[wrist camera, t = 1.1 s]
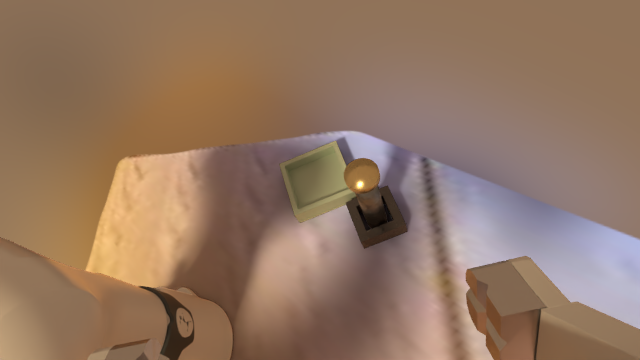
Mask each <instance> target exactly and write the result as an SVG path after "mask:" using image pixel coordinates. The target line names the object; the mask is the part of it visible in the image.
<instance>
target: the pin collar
mask: <svg viewBox="0 0 640 360" xmlns="http://www.w3.org/2000/svg"><path fill="white" fill-rule="evenodd" d="M379 191H380V194H381V198H382V201H383V204H385V205H386V207H387V209H388V211H389V214H390V216H391V218H392V220H393V221H390V222H388V223H385V224H383V225H380V226H378V227H375V228H373V229H370V230H368V231H366V229H365V227H364V224H363V222H362V219H361V217H360V214H361V213H363V212H362V209H361V207H360V204H359V202H358V199H357V198H355V199H353V200H350V201H348V202H345V203H346V205H347V208H348V210H349V213H350V215H351V218H352V221H353V223H354V226H355V228H356V231H357V233H358V236H359V239H360V241H361V243H362V245H363V247H364V249H365V248H367V247H370V246H372V245H375V244H378V243H380V242H383V241H385V240H388V239H390V238H393V237H395V236H398V235H400V234H403V233H405V232H407V228H406V223H405V221H404V219H403V217H402V215H401V213H400V211H399V209H398V207H397V204H396V202H395V200H394V198H393V196H392V194H391V192H390V190H389V188H388V185H387V186H385V187H383V188H380V189H379Z"/></svg>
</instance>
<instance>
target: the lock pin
mask: <svg viewBox="0 0 640 360" xmlns="http://www.w3.org/2000/svg"><path fill="white" fill-rule="evenodd" d="M344 180H345V183H346V185H347V187H348V188H349V189H350V190H351V191H352V192H355V194H356V197H357V199H358V202H359V204H360V207H361V209H362V212H363V214H364V217H365V219H366V221H367V224H368V226H369V227H370V228H371V229H373V228H375V227H378V226H380V225H383V224H385V223H387V221H388V220H387V216H386V212H385V209H384V205H383V201H382V198H381V194H380V191H379V187H378V184H379V181H380V173H379V169H378V166H377V165H376V163H374V162H373V161H372V160H370V159H366V158H360V159H356V160H354V161H352V162H350V163H349V164H348V165H347V166H346V168H345V170H344Z"/></svg>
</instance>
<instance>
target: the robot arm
mask: <svg viewBox="0 0 640 360" xmlns="http://www.w3.org/2000/svg"><path fill="white" fill-rule="evenodd" d="M466 282H467V284H468V285H469V287H470V289H469V290H468V292H467V293H466V299H467V306H468V310H469V314H470V316H471V319H472V321H473V323H474V325H475V327H476V329H477V330H478V331H479V332H481V333H483V334H484V335H486V347H487V348H488V350H489V352H490V354H491V355H492V357H493V359H494V360H640V329H638V328H635V327H633V326H631V325H629V324H626V323H624V322H622V321H620V320H617V319H615V318H613V317H611V316H608V315H606V314H604V313H602V312H599V311H597V310H595V309H593V308H590V307H588V306H586V305H584V304H581V303H579V302H572V303H570V301H569V300H568V299H567V298H566V297H565V296H564V295H563V294H562V293H561V291H560V290H559V289H558V288H557V287H556V286H555V285H554V284H553V283H552V281H551V280H550V279H549V278H548V277H547V276H546V275H545V274H544V273H543V272H542V270H541V269H540V268H539V267H538V266H537V265H536V264H535V263H534V262H533V260H532V259H531V258H529V257H527V256H523V257H519V258H514V259H510V260H506V261H501V262H497V263H492V264H488V265H483V266H479V267H475V268H470V269H467V271H466ZM232 347H233V333H232V327H231V324H230V321H229V319H228V317H227V315H226V313H225V312H224V311H223V309H222V308H221V307H220V306H218V305H217V304H216V303H214V302H212V301H210V300H206V299H203V298H200V297H198V296H197V295H196V294H195V293H194V292H193V291H192V290H191V289H189V288H186V287H181V288H179V289H177V290H172V289H168V288H163V287H157V288H151V287H145V286H138V287H137V286H134V285H132V284H129V283H126V282H123V281H121V280H118V279H115V278H113V277H110V276H107V275H104V274H101V273H91V272H88V271H84V270H81V269H77V268H74V267H71V266H68V265H65V264H62V263H60V262H57V261H55V260H52V259H50V258H47V257H45V256H43V255H40V254H38V253H36V252H34V251H31V250H29V249H27V248H25V247H22V246H21V245H18V244H16V243H14V242H12V241H10V240H7V239H4V238H1V237H0V360H230V357H231V353H232Z"/></svg>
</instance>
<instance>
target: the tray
mask: <svg viewBox="0 0 640 360" xmlns="http://www.w3.org/2000/svg"><path fill="white" fill-rule="evenodd" d="M279 165H280V169H281V172H282V175H283V179H284V182H285V185H286V189H287V192H288V195H289V199H290V202H291V206H292V209H293V212H294V216H295V217H296V218H297V220H298V221H299V222H300V223H301V222H304V221H306V220H309V219H311V218H314V217H316V216H319V215H321V214H324V213H326V212H329V211H331V210H334V209H336V208H338V207H341V206H343V205H346V203H345V202H348V201H350V200H353V199H355V198H357V197H356V194H355V192H352V191H351V190H350V189H349V188H348V187H347V185H346V183H345V180H344V170H345V168H346V164H345V162H344V159H343V157H342V154H341V152H340V150H339V147H338V145H337V142H336V141H334V142H331V143H329V144H326V145H324V146H321V147H319V148H317V149H314V150H312V151H309V152H307V153H305V154H302V155H300V156H297V157H295V158H293V159H290V160H288V161H285V162H283V163H281V164H279Z"/></svg>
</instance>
